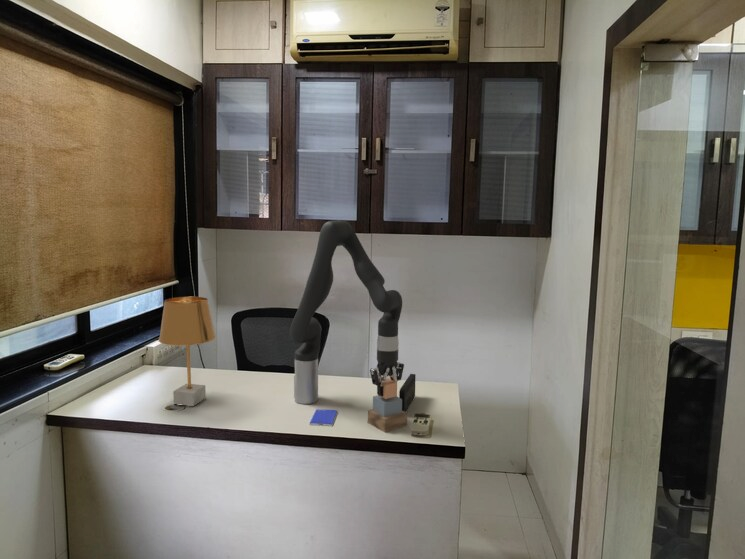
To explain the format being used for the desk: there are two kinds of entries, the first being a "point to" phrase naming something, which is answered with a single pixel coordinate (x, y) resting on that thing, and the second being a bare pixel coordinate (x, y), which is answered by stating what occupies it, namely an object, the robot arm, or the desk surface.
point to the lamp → (187, 337)
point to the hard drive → (323, 417)
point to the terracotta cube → (389, 389)
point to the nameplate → (407, 392)
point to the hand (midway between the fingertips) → (386, 393)
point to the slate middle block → (387, 405)
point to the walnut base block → (387, 420)
